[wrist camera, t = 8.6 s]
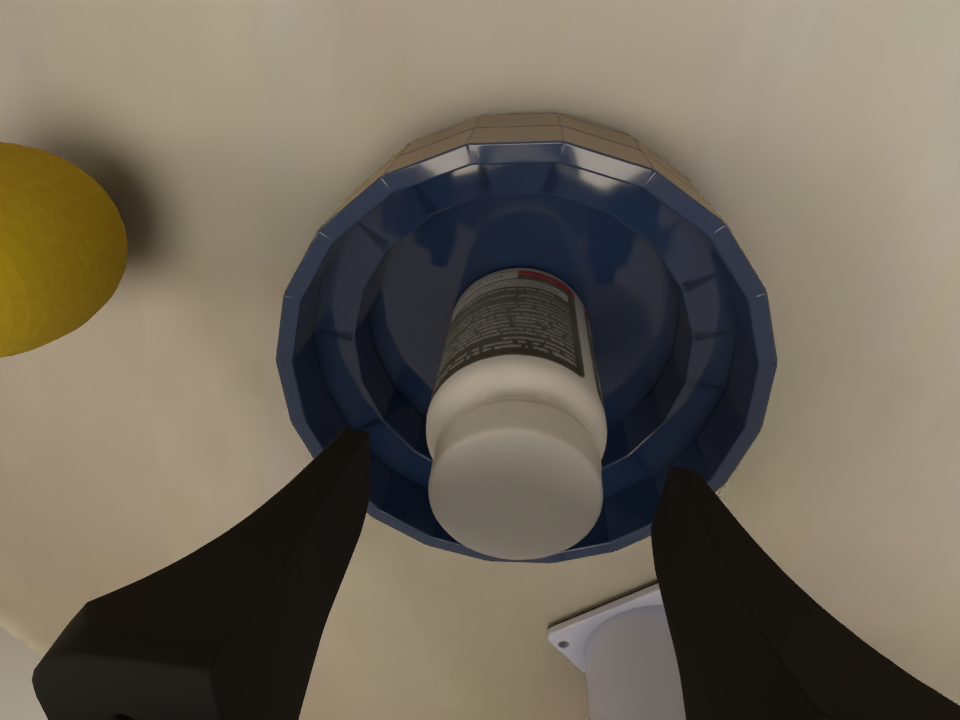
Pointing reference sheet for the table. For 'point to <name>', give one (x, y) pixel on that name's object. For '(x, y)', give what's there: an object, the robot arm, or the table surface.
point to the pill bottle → (517, 419)
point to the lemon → (53, 248)
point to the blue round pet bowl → (550, 248)
